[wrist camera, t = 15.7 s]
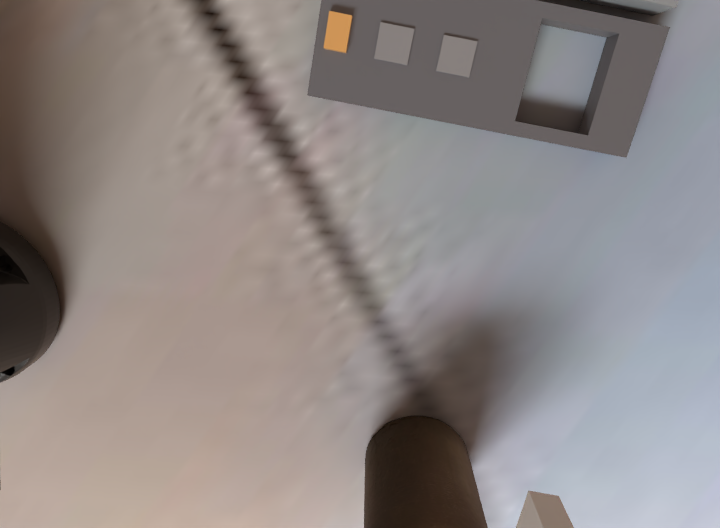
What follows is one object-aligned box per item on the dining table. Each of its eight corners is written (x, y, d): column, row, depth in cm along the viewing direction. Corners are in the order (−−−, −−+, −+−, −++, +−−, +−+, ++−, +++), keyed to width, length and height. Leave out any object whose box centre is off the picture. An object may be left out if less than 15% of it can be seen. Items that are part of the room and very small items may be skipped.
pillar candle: (375, 406, 47) (375, 537, 33) (479, 425, 47) (525, 562, 33) (356, 493, 50) (349, 648, 35) (455, 510, 50) (487, 671, 36)
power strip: (310, 95, 39) (306, 94, 37) (330, -35, 37) (327, -45, 34) (614, 155, 40) (630, 158, 37) (654, 31, 37) (674, 25, 35)
